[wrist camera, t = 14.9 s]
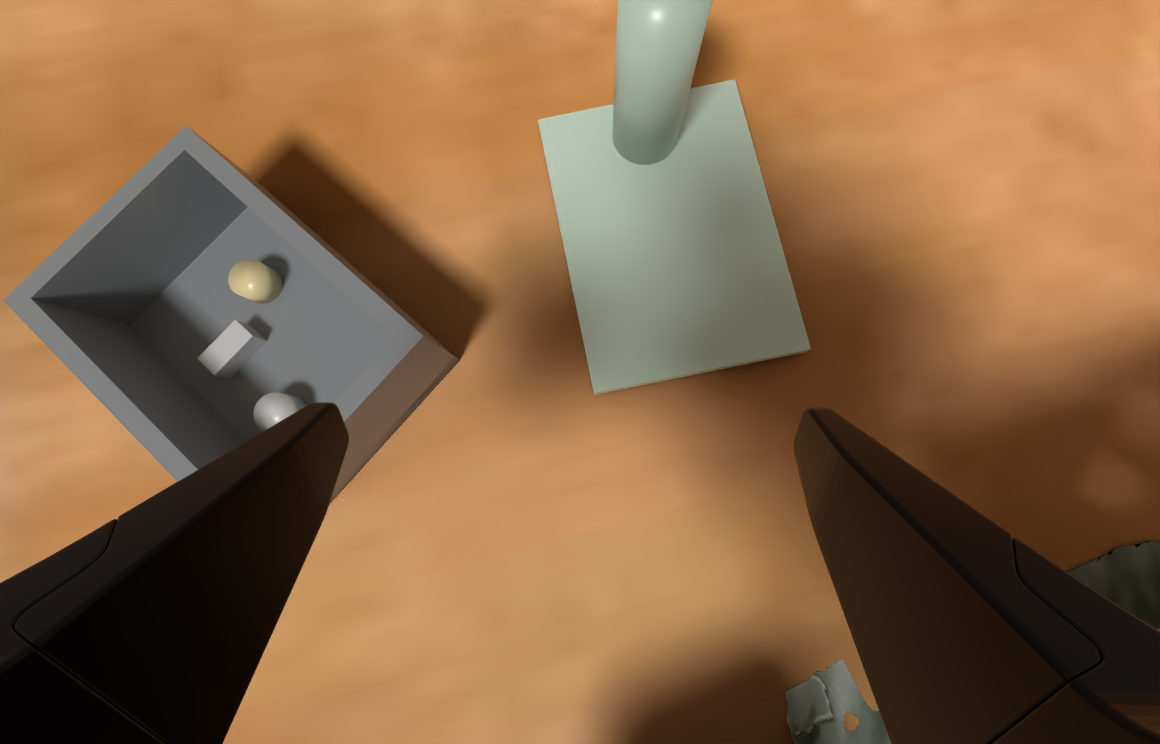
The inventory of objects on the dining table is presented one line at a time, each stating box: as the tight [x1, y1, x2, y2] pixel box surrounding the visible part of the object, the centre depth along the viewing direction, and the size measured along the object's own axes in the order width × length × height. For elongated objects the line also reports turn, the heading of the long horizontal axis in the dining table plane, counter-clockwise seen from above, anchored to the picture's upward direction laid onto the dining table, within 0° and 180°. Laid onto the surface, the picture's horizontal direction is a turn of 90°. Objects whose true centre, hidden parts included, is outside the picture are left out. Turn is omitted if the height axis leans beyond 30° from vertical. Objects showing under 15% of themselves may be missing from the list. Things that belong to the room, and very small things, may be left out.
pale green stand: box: [538, 0, 811, 395], centre depth 20 cm, size 10×14×9 cm
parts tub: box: [3, 126, 459, 503], centre depth 22 cm, size 10×14×5 cm
